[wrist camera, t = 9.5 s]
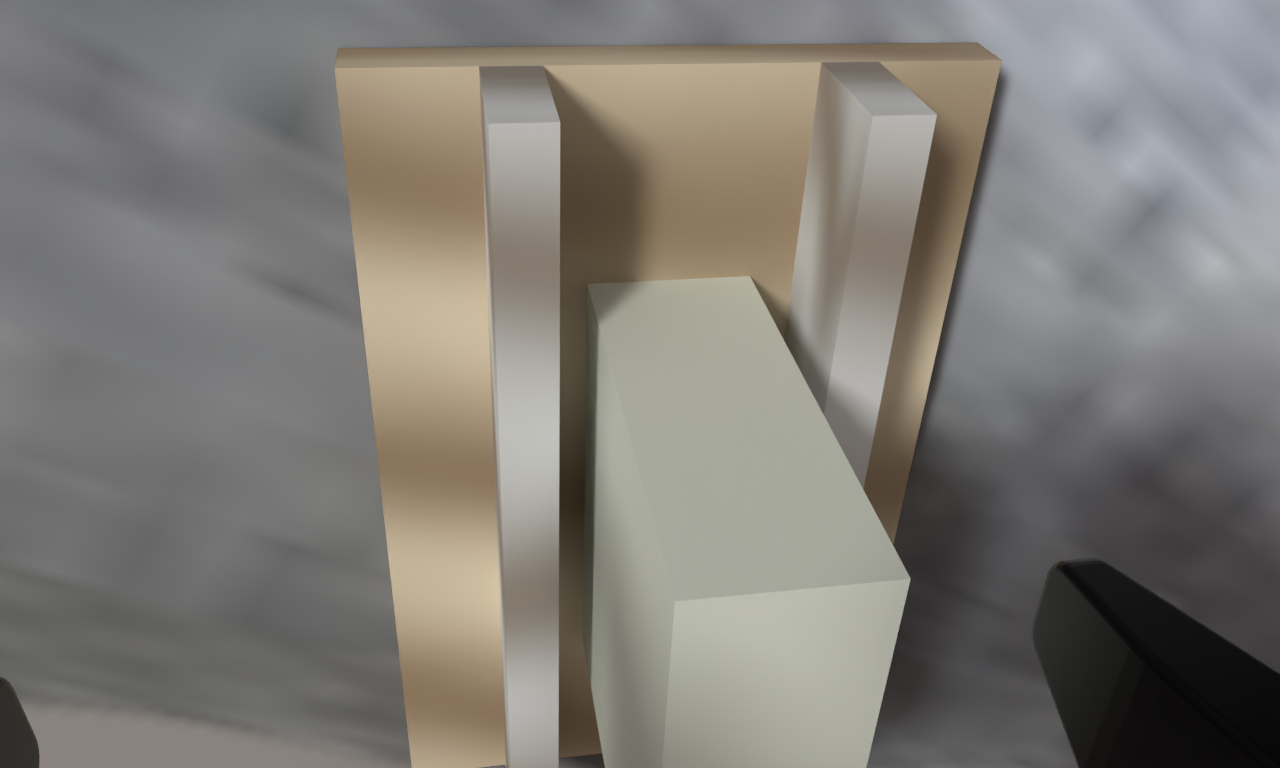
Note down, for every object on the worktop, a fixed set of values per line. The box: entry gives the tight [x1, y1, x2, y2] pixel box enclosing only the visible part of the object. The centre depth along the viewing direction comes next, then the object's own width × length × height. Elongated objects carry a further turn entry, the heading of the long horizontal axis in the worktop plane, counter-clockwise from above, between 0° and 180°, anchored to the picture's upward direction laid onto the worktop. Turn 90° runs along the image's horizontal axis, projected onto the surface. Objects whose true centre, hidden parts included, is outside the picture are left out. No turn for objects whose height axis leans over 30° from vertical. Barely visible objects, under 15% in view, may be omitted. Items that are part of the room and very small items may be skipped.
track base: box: [335, 43, 1002, 768], centre depth 22 cm, size 17×11×4 cm, turn 178°
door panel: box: [583, 276, 911, 768], centre depth 19 cm, size 9×3×8 cm, turn 178°
